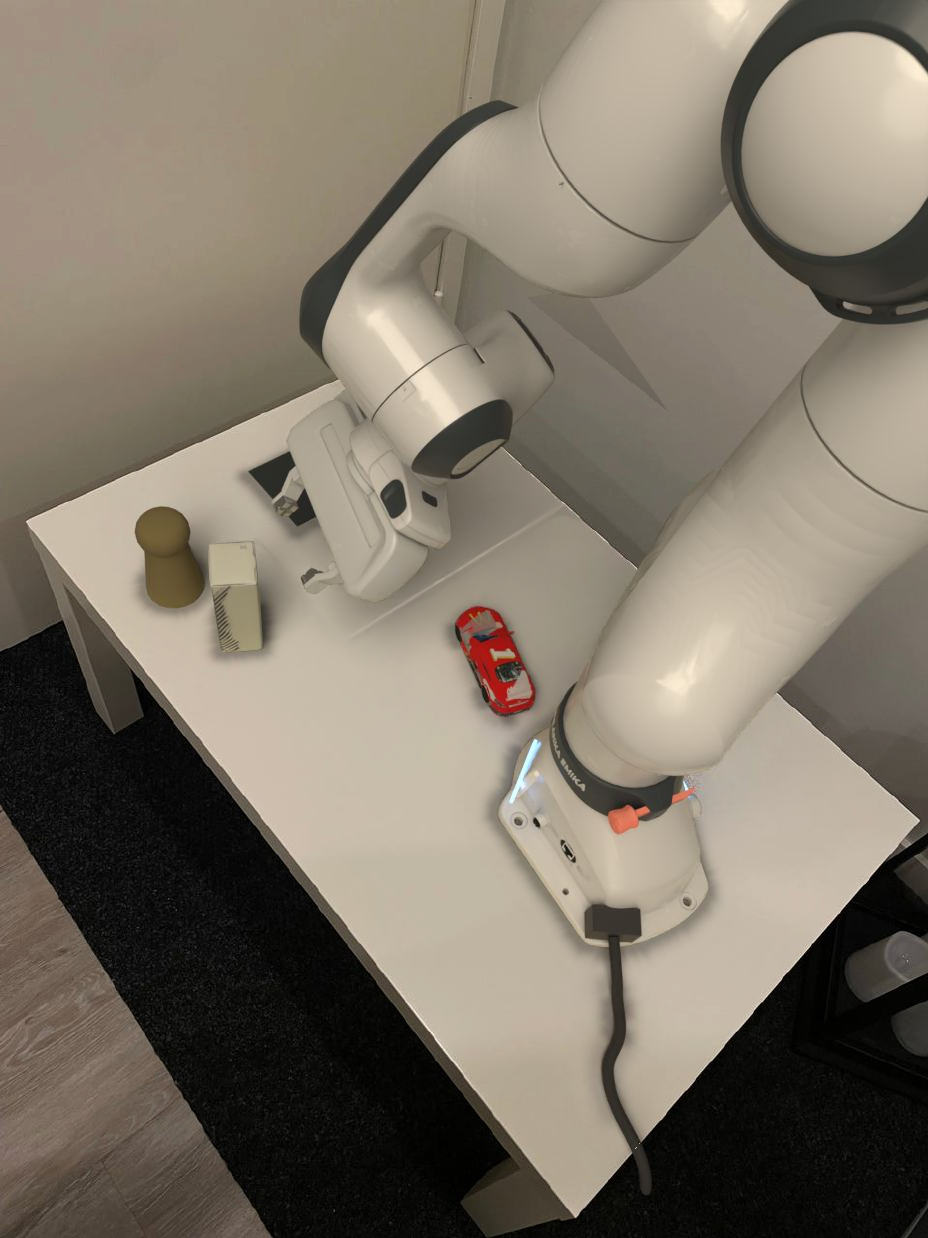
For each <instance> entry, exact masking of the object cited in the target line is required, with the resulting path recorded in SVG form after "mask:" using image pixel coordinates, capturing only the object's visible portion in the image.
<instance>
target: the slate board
mask: <svg viewBox="0 0 928 1238" xmlns="http://www.w3.org/2000/svg"><path fill="white" fill-rule="evenodd" d="M295 466H296V465H295V462H294V460H293V458H292V455H291V453H290V450H289V451H287V452H285V453H283V454H281V455H279V456H277V457H275V458H273V459H270V460H268V461H266V462H264V463H261V464H260V465H258V466H256V467H254V468H252V469H249V470H248V471H247V472H248V473H249V474H250V475H251V477H252V478H253V479H254V480H255V481H256V483H257V484H258V485H259V486H260V487H261V488H262V489H263V490H264V491H265V492H266V493H267V495H268V496H269V497H270V498H271V500H273V499H274V498H275V497H276V496H277V495H278V494H279V493H280V492H282V488H283V486H284V483H285V481H286V478H287V476H288V474H289V471H291V470H292V469H293V468H294V467H295ZM296 502H297V504H298V507H299V508H298V509H297V510H296V511H295V512H292V514H291V515H290V516H289V517H288V518H289V520H290V521H292V523H293V524H294V525H295V526H296V527H297V528H298V527H300V526H302V525H303V524H305V523H307V522H309V521H311V520H313V519H315V518H317V517H316V514H315V512H314V509H313V507H312V504H311V502H310V499H309V497H308V495H307V492H306V490H305V488H304V490H303V491H302V493H301V495H300V497H299V499H298V500H297V501H296Z"/></svg>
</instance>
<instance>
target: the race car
mask: <svg viewBox="0 0 928 1238" xmlns="http://www.w3.org/2000/svg"><path fill="white" fill-rule="evenodd" d="M454 632H455V633H454V634H455V636H456V639H457V640H458V641H457V642H459V643H460V646H461V648H462V651H463V653H464V655H465V657H466V660H467V662H468V664H469V666H470V669H471V671H472V674H473V676H474V678H475V680H476V683H477V684H478V687H479V689H481V696H482V699H483V700H484V702H485V703H486V704H488V707H489V709H490V710H491V711H492V712H493V713H494V714H495V715H497V716H499V717H504V718H506V717H509V716H514V715H517V714H521V713H523V712H525V711H529V710H530V708H532V707H533V705H534V702H535V700H536V691H535V686H534V684H533V680H532V678H531V676H530V674H529V671H528V670H527V667H526V665H525V663H524V661H523V659H522V656H521V655H520V654H521V653H520V652H519V650H518V648H517V646H516V643H515V641H514V639H513V638H512V637H513V636H512V635H514V634H515V633H516V632H515V631H511V630H509V629H508V627H507V625H506V623H505V622H504V619H503V617H502V615H501V614H500V612H498V611H497V610H495V609H493V608H489V607H485V606H478V605H477V606H473V607H472V606H471V607H470V608H468V609H466V610H465V611H463V612H462V613H461V614H460V615H459V616H458V618H457V619H456V621H455V623H454Z"/></svg>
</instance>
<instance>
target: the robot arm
mask: <svg viewBox="0 0 928 1238" xmlns="http://www.w3.org/2000/svg"><path fill="white" fill-rule="evenodd" d="M730 204H732V205H733V208H734V210H735V212H736V213H737V216H738V217H739V219H740V221H741V222H742V224H743V225H744V227H745V228H746V230H747V232H748V233H749V234H750V236H751V237H752V239H753V240H754V241H755V242H756V244H757V245H758V247H760V248H761V249H762V251H763V252H764V253H765V254H766V255H767V256H768V257H769V258H770V259H771V260H772V261H774V263H775V264H777V266H779V267H780V268H781V269H782V270H784V272H786V273H787V274H789V275H790V276H791V277H793V278H794V279H795V280H797V281H799V282H800V283H802V284H803V285H806V286H807V287H808V288H809V290H810V291H811V293H812V294H813V295H814V297H815V299H816V300H817V302H818V304H820V306H821V307H822V308H823V309H824V310H825V311H826V312H828V313H829V314H830V315H832V316H834V317H837V318H839V319H841V320H840V321H839V323H838V324H837V325H836V326H835V328H834V329H833V330H832V331H831V332H830V334H828V336H827V337H826V338H825V339H824V341H823V342H822V343H821V344H820V345H819V346H818V347H817V349H816V350H815V351H814V353H813V354H812V355H811V356H810V357H809V358H808V360H806V362H805V363H804V364H803V366H802V367H801V368H800V369H799V371H797V372H796V374H795V375H794V377H792V379H791V380H790V382H789V383H788V384H787V385H786V387H784V388H783V390H782V391H781V392H780V394H779V395H778V396H777V397H776V398H775V399H774V401H773V402H772V403H771V404H770V406H769V407H768V408H767V409H766V411H765V412H763V415H761V417H760V418H759V419H758V420H757V422H756V423H755V424H754V425H753V426H752V427H751V429H750V430H749V431H748V432H747V434H746V435H745V436H744V438H743V439H742V440H741V441H740V442H739V444H738V445H737V446H736V447H735V448H734V450H733V451H732V452H731V453H730V455H729V456H728V458H727V459H726V460H725V461H724V462H723V464H720V465H719V466H717V467H715V468H713V470H711V471H710V472H709V473H707V474H706V475H705V476H704V477H703V478H702V479H700V481H699V482H698V483H697V484H696V485H695V486H693V488H691V489H690V491H689V492H687V494H686V495H685V496H684V497H683V498H682V499H681V500H680V501H679V502H678V503H677V504H676V505H675V507H674V508H673V509H672V511H671V512H670V514H669V515H668V517H667V519H666V520H665V522H664V524H663V525H662V527H661V529H660V530H659V532H658V534H657V535H656V537H655V539H654V541H653V542H652V544H651V545H650V547H649V549H648V551H647V552H646V554H645V555H644V557H643V560H642V561H641V563H640V565H639V566H638V568H637V569H636V571H635V573H634V575H633V577H632V579H631V580H630V581H629V583H628V585H627V587H626V588H625V590H624V592H623V594H622V595H621V597H620V599H619V601H618V602H617V604H616V605H615V608H613V611H612V613H611V614H610V616H609V617H608V619H607V621H606V623H605V625H604V626H603V628H602V629H601V632H600V633H599V636H598V639H597V643H596V645H595V648H594V650H593V652H592V654H591V655H590V657H589V659H588V661H587V663H586V665H585V666H584V668H583V671H582V672H581V674H580V676H579V678H578V679H577V681H575V683H574V684H572V685H571V687H570V688H569V689H568V690H567V691H566V693H565V695H564V696H563V697H562V699H561V700H560V702H559V704H558V706H557V708H556V709H555V712H554V713H553V715H552V717H551V721H550V725H549V726H548V727H546V728H544V729H542V730H541V731H539V732H537V733H536V734H535V735H533V736H532V737H531V738H530V739H529V740H528V741H527V743H526V744H525V745H524V747H523V748H522V749H521V751H520V753H519V755H518V757H517V759H516V762H515V767H514V769H513V776H512V782H511V786H510V789H509V791H508V792H507V793H506V794H505V796H504V797H503V799H502V801H501V802H500V804H499V806H498V808H497V809H498V810H497V818H498V819H499V822H500V823H501V824H502V826H503V827H504V829H505V830H506V832H507V834H509V836H510V838H511V839H512V840H513V841H514V843H515V845H516V846H517V848H518V849H519V850H520V852H521V854H522V855H523V856H524V858H525V859H526V861H527V863H528V864H529V865H530V866H531V868H532V870H533V871H534V873H535V874H536V875H537V877H538V878H539V879H540V881H541V882H542V884H543V885H544V887H545V888H546V890H547V891H548V893H549V895H550V896H551V897H552V899H553V900H554V901H555V903H556V904H557V906H558V907H559V909H560V910H561V912H562V914H563V915H564V916H565V917H566V919H567V920H568V922H569V923H570V925H571V926H572V927H573V929H574V930H575V932H576V933H577V935H578V936H579V938H581V940H582V941H583V942H584V943H585V944H587V945H591V946H593V947H594V946H595V947H599V948H608V952H609V953H608V955H609V964H610V965H609V966H610V977H611V979H610V981H611V1005H612V1013H613V1021H614V1023H613V1024H614V1029H613V1036H612V1039H611V1041H610V1043H609V1045H608V1047H607V1049H606V1052H605V1053H604V1056H603V1059H602V1064H601V1076H602V1085H603V1090H604V1094H605V1097H606V1101H607V1104H608V1107H609V1108H610V1110H611V1113H612V1115H613V1117H614V1120H615V1121H616V1123H617V1125H618V1127H619V1129H620V1131H621V1133H622V1135H623V1137H624V1139H625V1141H626V1142H627V1145H628V1147H629V1148H630V1151H631V1153H632V1155H633V1159H634V1161H635V1164H636V1167H637V1170H638V1178H639V1179H638V1180H639V1190H640V1191H641V1193H642V1194H643V1195H644V1196H649V1195H650V1194H651V1193H652V1188H653V1187H652V1186H653V1179H652V1171H651V1167H650V1162H649V1159H648V1156H647V1154H646V1151H645V1149H644V1146H643V1144H642V1142H641V1139H640V1138H639V1135H638V1134H637V1132H636V1130H635V1128H634V1126H633V1124H632V1122H631V1121H630V1119H629V1117H628V1115H627V1113H626V1111H625V1109H624V1106H623V1104H622V1102H621V1100H620V1096H619V1093H618V1090H617V1086H616V1081H615V1064H616V1062H617V1059H618V1058H619V1056H620V1053H621V1051H622V1049H623V1047H624V1043H625V1039H626V1035H627V1034H626V1032H627V1019H626V1018H627V1017H626V1011H625V1005H624V1004H625V1003H624V981H623V980H624V979H623V964H622V953H621V947H627V946H632V945H636V944H639V943H643V942H645V941H649V940H650V939H654V938H655V937H658V936H660V935H662V934H664V933H666V932H668V931H670V930H672V929H673V928H675V927H677V926H678V925H680V924H682V922H684V921H686V919H688V918H689V917H690V916H691V915H693V913H694V912H695V911H696V910H697V909H698V907H700V905H701V904H702V902H703V901H704V900H705V897H706V896H707V893H708V892H709V882H708V879H707V876H706V873H705V870H704V866H703V863H702V861H701V848H700V844H699V839H698V834H697V830H696V827H695V826H696V825H695V824H694V823H695V822H694V820H695V819H699V817H701V816H702V814H703V809H702V803H701V801H700V799H699V797H698V796H697V795H696V794H694V792H695V791H696V790H697V788H696V787H691V788H688V786H687V784H686V782H685V779H684V778H685V776H692V775H696V774H701V773H704V772H707V771H710V770H711V769H713V768H714V767H716V766H717V765H718V764H719V763H720V762H721V761H722V759H723V758H724V757H725V756H726V754H727V753H728V752H729V751H730V750H731V748H732V747H733V746H734V744H735V743H736V742H737V740H738V739H739V738H740V737H741V735H742V734H743V733H744V731H745V730H746V729H747V728H748V726H749V725H750V724H751V723H752V721H753V720H754V719H755V718H756V716H757V715H758V714H759V713H760V712H761V711H762V709H763V708H764V707H766V705H767V704H768V703H770V701H771V700H772V699H773V698H774V697H775V696H776V694H777V693H779V692H780V690H781V689H782V688H784V686H785V685H786V684H788V682H789V681H790V680H791V679H792V678H793V677H794V676H795V675H796V674H797V673H798V672H799V671H800V670H801V669H802V668H803V667H804V666H805V665H806V664H807V663H808V662H809V660H810V659H811V658H812V657H813V656H814V655H815V654H817V652H819V650H820V649H821V648H822V646H823V645H824V644H825V643H826V642H827V641H828V640H829V639H830V638H831V636H832V635H834V633H835V632H836V631H837V630H838V629H839V628H840V626H841V625H842V624H843V623H844V622H845V621H846V619H847V618H848V617H849V616H850V615H851V614H852V613H853V611H854V610H855V609H856V608H857V607H858V606H859V605H860V604H861V603H862V602H863V601H864V600H865V599H866V598H867V596H868V595H870V594H871V593H872V592H873V591H874V590H875V589H876V588H877V587H878V586H879V585H880V584H881V583H883V582H884V581H885V580H887V578H888V577H890V576H891V575H892V574H893V573H895V572H896V571H897V570H898V569H900V568H901V567H903V566H904V565H905V564H907V562H909V561H910V560H912V559H913V558H914V557H915V556H917V555H918V554H919V553H920V552H922V551H923V550H924V549H925V548H927V547H928V0H600V1H599V2H598V3H597V5H596V6H595V8H593V10H592V11H591V12H590V14H589V16H588V17H586V19H585V21H583V23H582V24H581V26H580V27H579V29H578V30H577V31H576V33H575V34H574V36H573V37H572V38H571V39H570V42H569V43H568V44H567V46H566V47H565V48H564V50H563V51H562V52H561V54H560V56H559V57H558V58H557V60H556V62H555V63H554V65H553V67H552V68H551V70H550V71H549V73H548V74H547V76H546V78H545V80H544V81H543V83H542V84H541V85H540V87H539V88H538V90H537V91H536V92H535V93H534V95H532V97H531V98H529V99H528V100H527V102H525V103H524V104H523V105H521V106H516V105H514V104H512V103H509V102H507V101H506V102H505V101H503V100H500V99H498V100H497V99H496V100H491V101H488V102H486V103H483V104H481V105H479V106H477V107H474V108H472V109H470V110H469V111H467V112H465V113H464V114H461V116H459V117H458V118H455V119H454V120H453V121H452V122H450V123H449V124H448V125H447V126H445V127H444V128H443V129H442V130H441V131H440V132H439V133H438V134H437V135H436V136H435V137H434V138H433V139H432V140H431V141H430V142H429V143H428V144H427V146H425V147H424V149H423V150H422V151H421V152H420V153H419V154H418V155H417V156H416V158H414V160H413V161H412V162H411V163H410V164H409V165H408V167H407V168H405V170H404V171H403V172H402V174H401V175H400V176H399V177H398V179H397V180H396V181H395V182H394V184H393V185H392V186H391V187H390V188H389V190H388V191H387V192H386V194H385V195H384V196H383V197H382V199H381V200H380V201H379V202H378V203H377V205H375V207H373V208H374V209H372V211H371V212H370V213H369V215H368V216H367V217H366V218H365V220H364V221H363V222H362V223H361V224H360V226H359V227H358V228H357V229H356V230H355V232H354V233H353V234H352V236H351V237H350V238H349V240H347V241H346V242H345V244H344V245H342V246H341V247H340V248H339V249H338V250H337V251H336V252H335V253H334V254H333V255H332V256H330V258H329V259H327V260H326V261H325V262H324V264H322V265H321V266H320V267H319V268H318V269H317V270H316V271H315V272H314V273H313V274H312V276H311V277H310V278H309V279H308V280H307V282H306V283H305V284H304V286H303V288H302V292H301V295H300V302H299V314H298V315H299V316H298V322H299V323H298V325H299V326H298V327H299V329H298V330H299V335H300V337H301V339H302V340H303V341H304V343H305V344H306V345H307V346H308V347H309V348H310V349H311V350H312V351H313V352H314V354H315V355H316V356H317V357H318V358H319V359H320V361H321V362H323V364H324V365H325V366H326V367H327V368H328V369H329V370H331V372H332V373H333V374H334V375H335V377H336V378H337V379H338V380H339V382H340V383H341V385H342V386H343V387H344V389H343V390H342V391H341V392H339V394H338V395H336V396H335V397H334V398H333V399H331V400H328V401H327V402H325V403H323V404H322V405H320V406H319V407H317V408H316V409H314V410H312V411H311V412H310V413H308V415H306V416H304V417H303V418H302V419H301V420H300V421H298V422H297V423H296V424H295V425H293V426H292V427H291V429H290V430H289V433H288V435H287V437H286V445H287V448H288V450H289V451H290V453H291V455H292V458H293V460H294V462H295V465H296V466H295V467H294V468H293V469H292V470H291V471H289V474H288V476H287V478H286V481H285V483H284V486H283V488H282V492H280V493H279V494H278V495H277V496H276V497H275V498H274V499H271V505H272V507H273V510H274V512H275V514H276V516H281V517H282V518H289V516H290V515H291V514H292V512H295V511H296V510H297V509H298V508H299V507H298V504H297V502H296V501H297V500H298V499H299V497H300V495H301V493H302V491H303V490H304V488H305V490H306V492H307V495H308V497H309V499H310V502H311V504H312V507H313V509H314V512H315V514H316V517H315V518H316V519H317V521H318V524H319V526H320V529H321V532H322V535H323V536H324V538H325V541H326V544H327V546H328V548H329V551H330V554H331V556H332V558H333V560H332V562H331V563H329V564H328V565H327V569H328V571H322V570H318V569H316V568H314V567H311V568H309V569H308V570H307V571H306V572H305V574H302V575H301V576H300V581H301V583H302V586H303V589H304V591H305V592H306V593H309V594H311V595H317V594H319V593H320V592H322V591H323V590H324V589H325V588H326V587H328V586H336V585H343V586H344V588H345V591H346V593H347V594H348V595H350V596H351V597H352V598H353V597H354V598H356V599H359V600H362V601H365V602H370V603H379V602H383V601H384V600H386V599H387V598H388V597H390V596H391V595H393V594H394V593H395V592H396V591H398V590H399V589H400V588H401V587H402V586H404V585H405V583H406V582H408V581H409V580H410V579H411V578H412V577H414V575H415V574H416V573H417V572H418V571H419V570H420V569H421V568H422V566H423V565H424V563H425V562H426V559H427V558H428V554H429V547H430V548H433V549H441V548H442V547H444V546H445V545H446V544H448V543H449V542H450V540H451V538H452V526H451V521H450V520H451V519H450V514H449V504H448V487H447V486H448V485H447V483H446V482H448V481H449V480H460V479H463V478H464V477H466V476H467V475H469V474H470V473H472V472H473V471H474V470H475V469H476V468H478V467H479V466H480V465H481V464H482V463H483V462H485V460H487V459H488V458H489V457H491V456H492V455H493V454H494V453H495V452H497V451H498V450H499V449H500V448H502V447H503V446H504V445H506V444H507V443H508V442H509V441H510V438H511V433H512V428H513V427H514V426H515V425H516V424H517V423H518V422H519V421H520V420H521V419H522V418H523V417H524V416H525V415H526V414H527V413H528V412H530V410H531V409H532V408H533V407H534V406H535V405H536V404H537V403H538V402H539V400H541V398H542V397H543V396H544V395H545V394H546V393H547V392H548V390H549V389H550V388H551V387H552V386H553V384H554V383H555V381H556V374H555V368H554V365H553V362H552V360H551V359H550V357H549V355H548V354H547V353H546V352H545V350H544V348H543V346H542V345H541V343H540V342H539V340H538V339H537V338H536V337H535V335H534V334H533V333H532V331H531V329H530V328H529V327H528V326H527V325H526V323H525V322H523V321H522V319H521V318H520V317H519V316H518V315H517V314H516V313H515V312H513V311H510V310H508V309H507V308H501V309H499V310H498V311H496V312H494V313H492V314H490V315H489V316H487V317H486V318H484V319H483V320H481V321H480V322H478V323H477V324H475V325H474V326H473V327H472V328H470V329H468V330H467V331H466V332H464V333H463V334H462V332H461V331H460V330H459V328H458V327H457V326H456V324H455V323H454V322H453V320H452V319H451V317H450V316H449V315H448V314H447V312H446V311H445V310H444V308H443V307H442V306H441V304H440V303H439V302H438V300H437V298H436V297H435V296H434V294H433V293H432V290H431V289H430V287H429V285H428V283H427V281H426V279H425V277H424V274H423V271H422V265H421V264H422V263H423V261H425V259H427V257H428V256H429V255H431V254H432V252H433V251H434V250H435V249H437V247H438V246H439V245H440V244H441V243H442V242H443V241H444V240H445V239H446V238H447V237H449V235H450V234H451V233H452V232H455V233H457V234H459V235H461V236H462V237H464V238H466V239H467V240H469V241H471V242H472V243H474V244H475V245H477V246H479V247H480V248H481V249H483V250H484V251H486V252H487V253H488V254H489V255H491V256H492V257H493V258H494V259H496V260H497V261H498V262H500V263H501V264H502V265H503V266H504V267H505V268H506V269H508V270H509V271H510V272H511V273H512V274H514V275H515V276H517V277H519V278H520V279H521V280H523V281H525V282H527V283H529V284H530V285H533V286H535V287H537V288H539V289H542V290H544V291H548V292H550V293H553V294H557V295H561V296H565V297H571V298H578V299H602V298H609V297H614V296H619V295H622V294H625V293H628V292H630V291H632V290H634V289H636V288H638V287H639V286H641V285H642V284H644V283H645V282H646V281H648V280H650V279H651V278H652V277H653V276H655V275H656V274H657V273H659V272H660V271H661V270H662V269H664V268H665V267H666V266H668V265H669V264H670V263H671V262H672V261H674V260H675V259H676V258H677V257H678V256H679V255H680V254H681V253H682V252H684V251H685V250H686V249H687V248H688V247H689V246H690V245H691V244H692V243H693V242H694V241H696V239H697V238H698V237H699V236H701V234H702V233H703V232H704V231H705V230H706V229H707V228H708V227H709V226H710V225H712V223H713V222H714V221H715V220H716V218H718V217H719V216H720V215H721V214H722V212H723V211H724V210H725V209H726V208H727V207H729V205H730ZM844 303H847V304H851V307H850V308H848V307H847V308H846V307H845V306H844ZM515 820H516V821H517V820H518V821H519V822H520V825H517V824H516V823H515ZM564 892H565V893H564ZM684 900H687V902H688V905H686V904H685V903H684ZM639 1143H640V1144H639ZM636 1147H637V1148H636ZM635 1148H636V1149H635Z"/></svg>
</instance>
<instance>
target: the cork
mask: <svg viewBox="0 0 928 1238" xmlns="http://www.w3.org/2000/svg"><path fill="white" fill-rule="evenodd" d="M138 517H139V518H138V519H137V520H136V522H135V526H134V537H135V539H136V542H137V544H138V545H139V547H140V548H141V549H142V551H143V553H144V556H143V557H144V574H145V588H146V593H147V595H148V597H149V598H150V600H151V601H152V602H153V603H155V604H156V605H158V606H160V607H162V608H163V607H164V608H167V609H180V608H184V607H187V606H189V605H191V604H193V603H195V602H196V601H197V600H198V599H199V598H200V597H201V596H202V593H203V592H204V590H205V583H206V582H205V578H204V575H203V572H202V571H201V568H200V566H199V564H198V561H197V559H196V556H195V554H194V552H193V550H192V548H191V545H190V543H189V542H190V539H191V526H190V522H189V521H188V519H187V518H186V516H185V515H184V514H183V513H182V512H180V511H179V510H177V509H175V508H174V507H170V506H165V505H164V506H163V505H160V506H154V507H152V508H151V507H150V508H149V509H147V510H146V511H144V512H143V513H142V514H141V515H140V516H138Z"/></svg>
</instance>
